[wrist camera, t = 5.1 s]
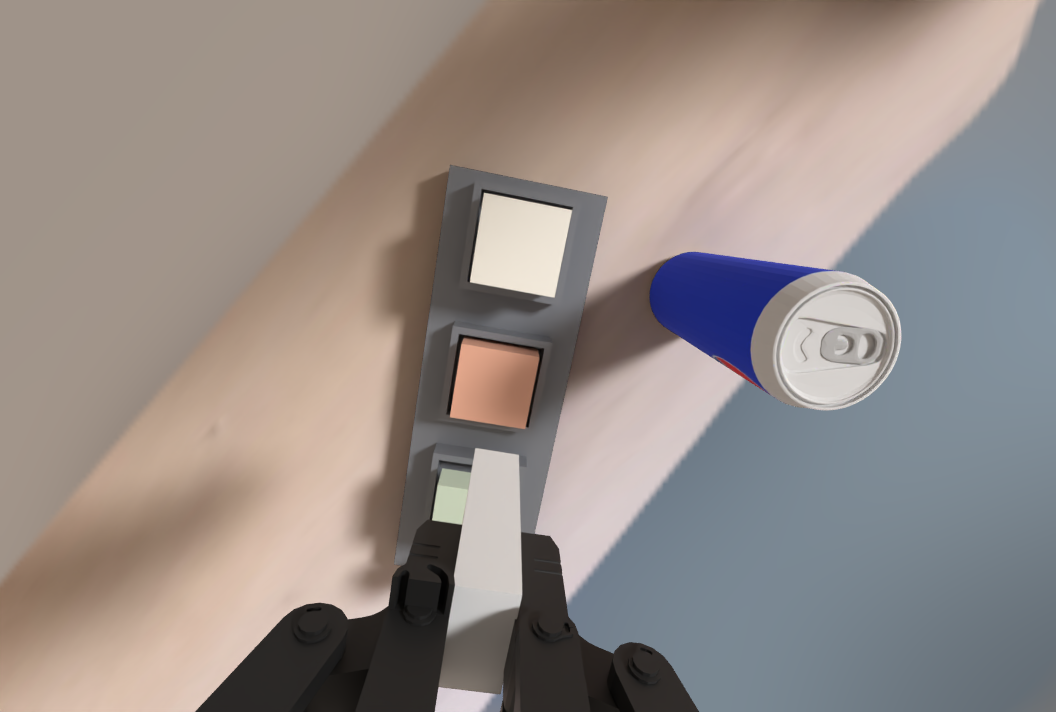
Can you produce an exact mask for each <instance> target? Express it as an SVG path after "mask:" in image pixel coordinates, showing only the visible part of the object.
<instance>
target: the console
mask: <svg viewBox="0 0 1056 712" xmlns="http://www.w3.org/2000/svg"><path fill="white" fill-rule="evenodd" d="M484 193H488V194H493V195H498V196H503V197H508V198H513V199H518V200H523V201H528V202H533V203H538V204H543V205H548V206H553V207H558V208H563V209H568V210H572V214H571V219H570V224H569V228H568V233H567V238H566V243H565V248H564V253H563V258H562V263H561V268H560V273H559V278H558V283H557V288H556V293H555V298H554V297H548V296H543V295H537V294H532V293H526V292H521V291H515V290H510V289H505V288H499V287H494V286H488V285H483V284H477V283H472V282H470V278H471V272H472V266H473V259H474V253H475V247H476V240H477V234H478V228H479V221H480V215H481V209H482V202H483V196H484ZM607 198H608V197H606V196H601V195H596V194H591V193H587V192H582V191H577V190H572V189H567V188H562V187H557V186H552V185H547V184H542V183H537V182H532V181H527V180H522V179H518V178H513V177H508V176H503V175H498V174H493V173H488V172H483V171H478V170H473V169H468V168H463V167H458V166H453V165H450V169H449V176H448V183H447V190H446V197H445V204H444V212H443V219H442V226H441V233H440V240H439V247H438V254H437V261H436V269H435V276H434V283H433V290H432V297H431V304H430V311H429V318H428V326H427V333H426V340H425V347H424V354H423V361H422V368H421V375H420V383H419V390H418V397H417V404H416V411H415V418H414V425H413V433H412V440H411V447H410V454H409V461H408V468H407V475H406V482H405V490H404V497H403V504H402V511H401V518H400V525H399V532H398V539H397V547H396V554H395V561H394V565H401V566H403V565H404V564H406V562H407V559H408V556H409V553H410V549H411V546H412V543H413V540H414V537H415V533H416V530H417V529H418V528H419V527H420V526H421V525H422V524H423V523H424V522H425V521H426V520H432V518H433V512H434V506H435V499H436V493H437V487H438V482H439V479H440V475H441V471H442V468H444V469H450V470H457V471H463V472H470V473H471V470H472V465H473V459H474V453H475V448H479V449H485V450H491V451H498V452H504V453H510V454H516V455H519V480H520V521H521V532H525V533H531V534H535V529H536V524H537V520H538V515H539V511H540V506H541V501H542V497H543V492H544V488H545V483H546V478H547V474H548V469H549V465H550V460H551V455H552V451H553V446H554V442H555V437H556V432H557V428H558V423H559V419H560V414H561V410H562V405H563V400H564V396H565V391H566V387H567V382H568V377H569V373H570V368H571V364H572V359H573V354H574V350H575V345H576V341H577V336H578V331H579V327H580V322H581V318H582V313H583V309H584V304H585V299H586V295H587V290H588V286H589V281H590V276H591V272H592V267H593V263H594V258H595V253H596V249H597V244H598V240H599V235H600V230H601V226H602V221H603V217H604V212H605V207H606V203H607ZM464 336H468V337H473V338H479V339H485V340H491V341H496V342H502V343H508V344H514V345H519V346H525V347H531V348H537V349H538V353H539V362H538V367H537V372H536V377H535V382H534V387H533V392H532V397H531V402H530V407H529V412H528V417H527V422H526V427H525V429H521V428H515V427H508V426H502V425H496V424H490V423H483V422H477V421H471V420H465V419H458V418H452V417H450V413H451V407H452V400H453V394H454V388H455V382H456V375H457V369H458V363H459V356H460V350H461V344H462V341H463V339H464Z"/></svg>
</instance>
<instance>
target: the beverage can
mask: <svg viewBox="0 0 1056 712" xmlns="http://www.w3.org/2000/svg"><path fill="white" fill-rule="evenodd" d="M650 305H651V308H652V311H653V313H654V315H655V317H656V319H657V320H658V321H659V322H660V323H661V324H662V325H663V326H664V327H666V328H667V329H669V330H670V331H672V332H673V333H675V334H676V335H678V336H679V337H681V338H683V339H684V340H686V341H687V342H689V343H690V344H692V345H693V346H695V347H697V348H698V349H700V350H701V351H703V352H704V353H706V354H707V355H709V356H710V357H712V358H714V359H715V360H717V361H718V362H720V363H721V364H723V365H724V366H726V367H728V368H729V369H731V370H732V371H734V372H735V373H737V374H738V375H740V376H741V377H743V378H745V379H746V380H748V381H749V382H751V383H752V384H754V385H755V386H757V387H759V388H760V389H762V390H763V391H765V392H766V393H768V394H769V395H771V396H773V397H774V398H776V399H777V400H779V401H781V402H783V403H785V404H788V405H792V406H795V407H803V408H811V409H816V410H836V409H841V408H845V407H848V406H850V405H853V404H855V403H857V402H859V401H861V400H863V399H864V398H866V397H867V396H869V395H870V394H871V393H872V392H874V390H876V389H877V388H878V387H879V386H880V385H881V384H882V383H883V381H884V380H885V379H886V378H887V376H888V375H889V373H890V372H891V370H892V368H893V366H894V364H895V362H896V359H897V357H898V353H899V350H900V344H901V326H900V321H899V318H898V314H897V312H896V310H895V308H894V306H893V305H892V303H891V302H890V301H889V299H888V298H887V297H886V296H885V295H884V294H883V293H881V292H880V291H879V290H878V289H876V288H874V287H873V286H871V285H870V284H869V283H867V282H866V281H865V280H863V279H861V278H859V277H857V276H855V275H853V274H849V273H846V272H840V271H833V270H826V269H818V268H811V267H804V266H796V265H789V264H782V263H774V262H767V261H759V260H752V259H745V258H737V257H730V256H723V255H715V254H708V253H700V252H687V253H682V254H680V255H677V256H675V257H673V258H671V259H670V260H668V261H667V262H666V263H665V264H664V265H663V266H662V267H661V268H660V269H659V270H658V272H657V273H656V275H655V277H654V279H653V281H652V284H651V288H650Z"/></svg>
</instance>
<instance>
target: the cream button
mask: <svg viewBox="0 0 1056 712" xmlns="http://www.w3.org/2000/svg"><path fill="white" fill-rule="evenodd" d="M571 214H572V210H568V209H563V208H558V207H553V206H548V205H543V204H538V203H533V202H528V201H523V200H518V199H513V198H508V197H503V196H498V195H493V194H488V193H484V196H483V202H482V209H481V215H480V221H479V228H478V234H477V240H476V247H475V253H474V259H473V266H472V272H471V278H470V282H472V283H477V284H483V285H488V286H494V287H499V288H505V289H510V290H515V291H521V292H526V293H532V294H537V295H543V296H548V297H554V298H555V293H556V288H557V283H558V278H559V273H560V268H561V263H562V258H563V253H564V248H565V243H566V238H567V233H568V228H569V224H570V219H571Z"/></svg>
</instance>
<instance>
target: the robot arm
mask: <svg viewBox="0 0 1056 712" xmlns="http://www.w3.org/2000/svg"><path fill="white" fill-rule="evenodd" d="M560 563H561V561H560V554H559V548H558V547H557V545H556V544H555V543H554V541H553V540H552V538H551V537H550V536H545V535H538V534H531V533H525V532H521V521H520V480H519V455H516V454H510V453H504V452H498V451H491V450H485V449H479V448H475V453H474V459H473V465H472V470H471V476H470V482H469V488H468V493H467V499H466V505H465V510H464V516H463V522H462V525H461V524H455V523H448V522H441V521H434V520H426V521H425V522H424V523H423V524H422V525H421V526H420V527H419V528H418V529H417V530H416V533H415V537H414V540H413V543H412V546H411V549H410V553H409V556H408V559H407V562H406V564H404V565H403V566H401V567H399V568H398V569H397V571H396V572H395V574H394V575H393V577H392V585H391V592H390V599H389V606H388V607H386V608H385V609H384V610H382V611H381V612H378V613H376V614H374V615H371V616H367V617H362V618H355V619H348V620H347V617H346V616H345V614H344V613H343V611H342V610H341V609H339V608H337V607H335V606H334V605H331V604H325V603H314V604H306V605H304V606H301V607H299V608H296V609H294V610H293V611H291V612H290V613H289V614H287V615H286V616H285V617H284V618H283V619H282V620H281V621H280V622H279V623H278V624H277V625H276V626H275V627H274V628H273V629H272V630H271V631H270V632H269V634H268V635H267V636H266V637H265V638H264V639H263V640H262V641H261V642H260V643H259V644H258V645H257V646H256V647H255V648H254V650H253V651H252V652H251V653H250V654H249V655H248V656H247V657H246V658H245V659H244V660H243V661H242V662H241V663H240V664H239V666H238V667H237V668H236V669H235V670H234V671H233V672H232V673H231V674H230V675H229V676H228V677H227V678H226V679H225V680H224V682H223V683H222V684H221V685H220V686H219V687H218V688H217V689H216V690H215V691H214V692H213V693H212V694H211V695H210V696H209V698H208V699H207V700H206V701H205V702H204V703H203V704H202V705H201V706H200V707H199V708H198V709H197V710H196V711H195V712H435V705H436V699H437V693H438V687H443V688H451V689H460V690H468V691H476V692H484V693H493V694H501V689H502V685H503V701H502V706H501V711H500V712H699V711H698V709H697V708H696V706H695V704H694V703H693V701H692V699H691V698H690V696H689V694H688V693H687V691H686V690H685V688H684V686H683V684H682V683H681V681H680V679H679V678H678V676H677V674H676V673H675V671H674V669H673V668H672V666H671V665H670V664H669V663H668V661H667V660H666V659H665V657H664V656H663V655H661V654H660V653H659V652H657V651H656V650H655V649H653V648H651V647H649V646H646V645H644V644H641V643H632V642H629V643H626V644H623V645H620V646H619V647H618V648H617V649H616V650H615V652H614V654H613V653H611V652H608V651H606V650H603V649H601V648H599V647H596V646H594V645H592V644H590V643H589V642H587V641H586V640H584V639H583V638H582V637H581V636H579V634H578V631H577V629H576V626H575V624H574V623H573V622H572V621H571V620H570V618H569V617H568V611H567V604H566V597H565V590H564V583H563V576H562V568H561V565H560Z"/></svg>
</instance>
